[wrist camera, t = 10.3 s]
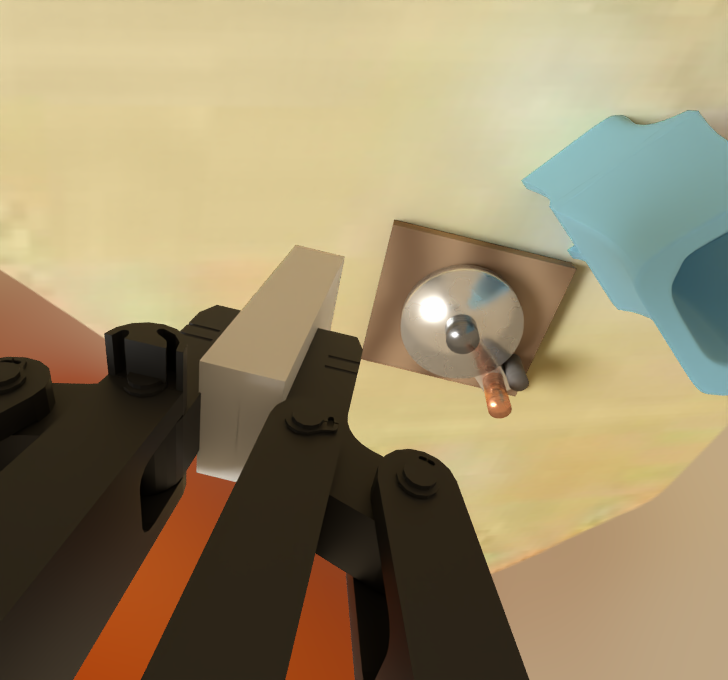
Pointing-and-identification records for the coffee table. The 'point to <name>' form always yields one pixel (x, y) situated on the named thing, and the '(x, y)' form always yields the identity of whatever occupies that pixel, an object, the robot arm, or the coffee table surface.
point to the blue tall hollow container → (653, 228)
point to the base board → (440, 249)
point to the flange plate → (459, 300)
